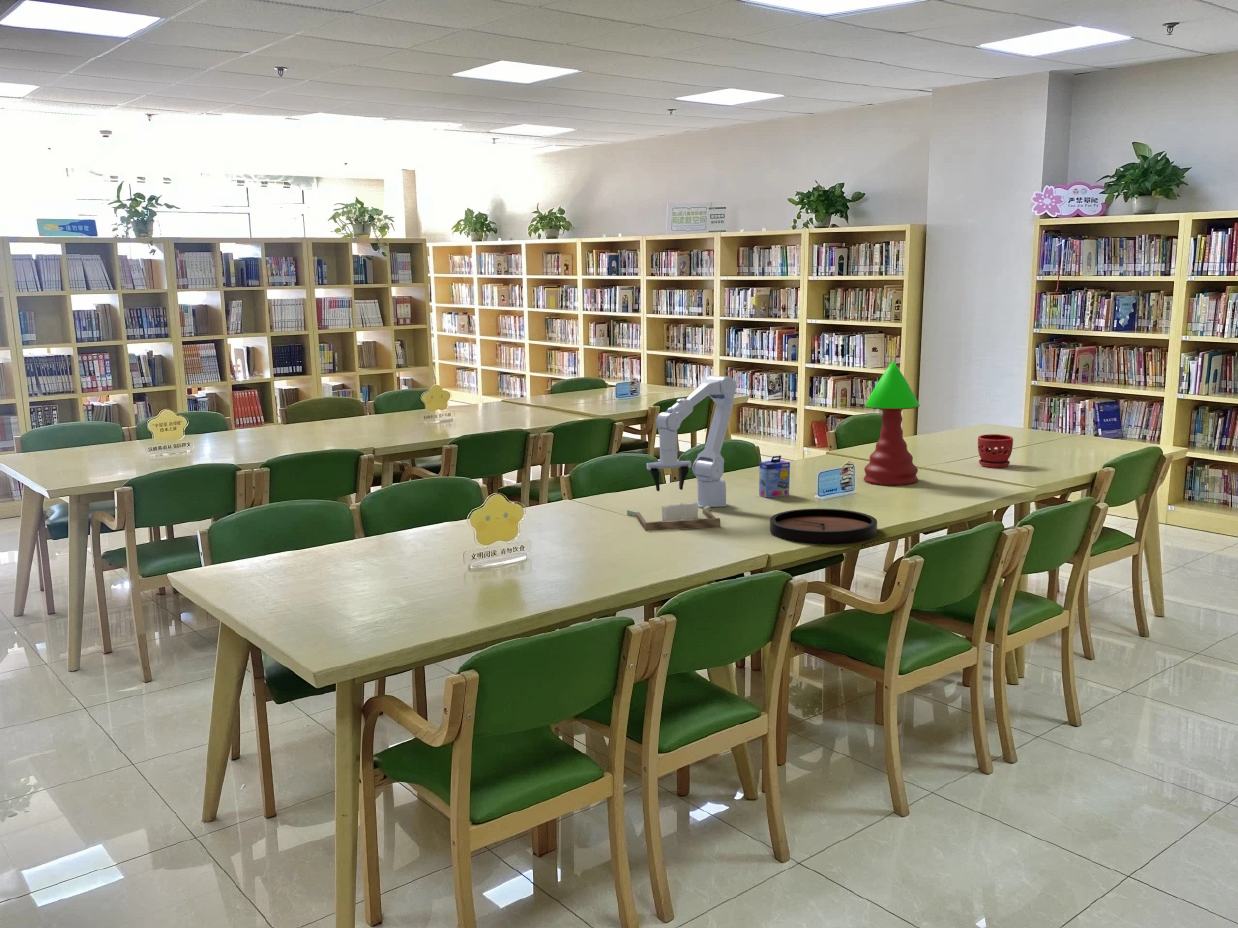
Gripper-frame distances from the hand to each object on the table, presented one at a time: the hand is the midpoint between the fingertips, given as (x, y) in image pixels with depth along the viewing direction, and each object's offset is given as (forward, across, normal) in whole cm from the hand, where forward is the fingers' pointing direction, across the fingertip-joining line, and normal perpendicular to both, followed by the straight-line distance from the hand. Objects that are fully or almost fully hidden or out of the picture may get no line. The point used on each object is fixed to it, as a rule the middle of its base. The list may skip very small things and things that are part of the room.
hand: (669, 489), depth 331 cm
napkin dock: (+8, 0, +10) cm, 13 cm away
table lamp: (+9, -90, -32) cm, 96 cm away
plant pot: (+9, -142, -50) cm, 151 cm away
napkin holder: (+8, -2, +10) cm, 13 cm away
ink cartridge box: (+8, -41, -18) cm, 46 cm away
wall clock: (+8, -39, +37) cm, 54 cm away
